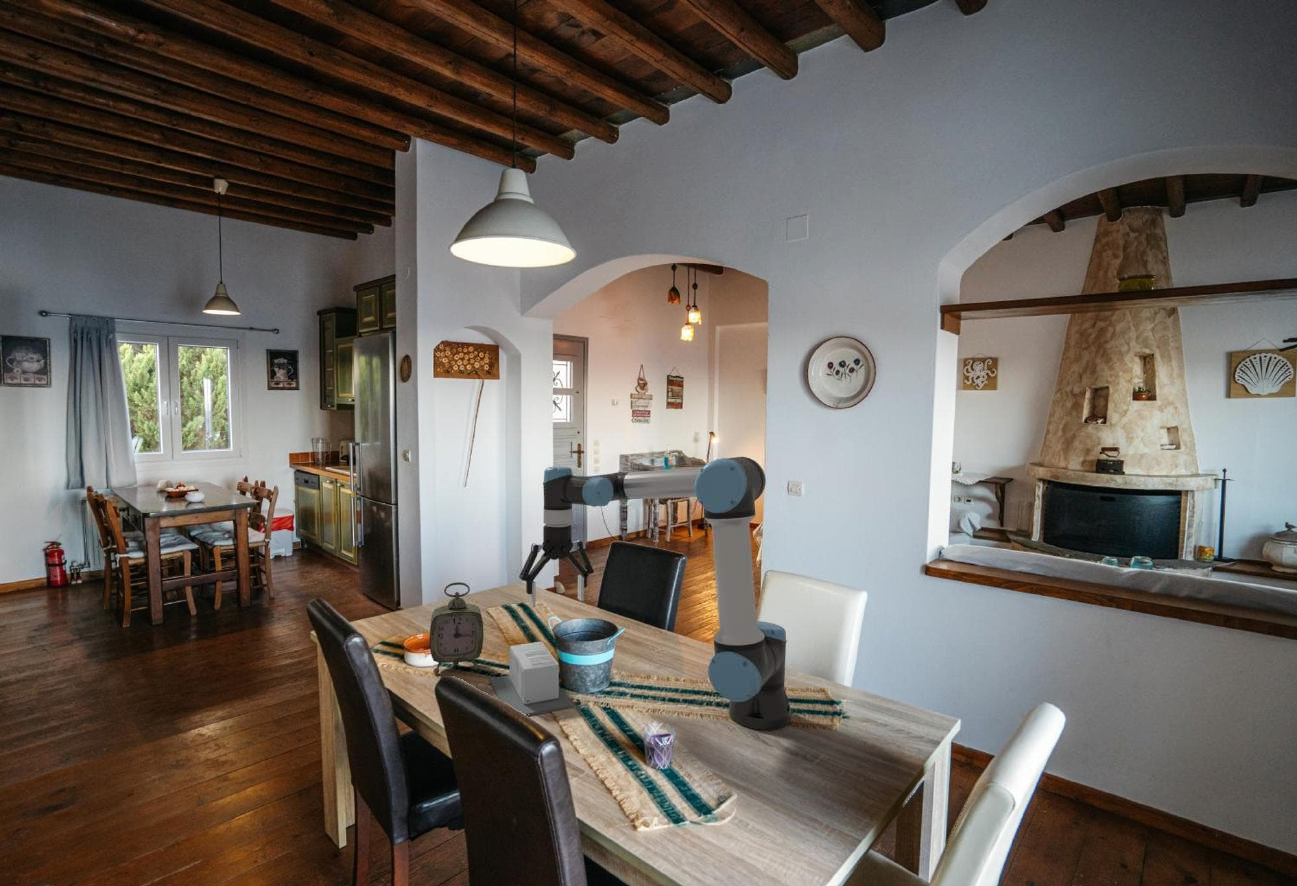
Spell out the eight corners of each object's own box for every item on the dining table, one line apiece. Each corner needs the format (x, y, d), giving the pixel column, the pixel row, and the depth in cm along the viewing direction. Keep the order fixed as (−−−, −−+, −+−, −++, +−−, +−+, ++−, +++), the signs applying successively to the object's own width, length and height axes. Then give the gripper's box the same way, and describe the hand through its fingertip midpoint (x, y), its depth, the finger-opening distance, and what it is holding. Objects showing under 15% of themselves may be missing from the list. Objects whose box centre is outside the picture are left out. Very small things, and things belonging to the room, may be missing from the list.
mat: (573, 707, 160) (573, 704, 160) (510, 718, 153) (510, 716, 153) (545, 671, 181) (545, 669, 181) (489, 680, 174) (489, 678, 174)
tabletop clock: (429, 677, 175) (430, 587, 174) (429, 664, 184) (430, 579, 183) (483, 671, 180) (484, 584, 179) (481, 659, 189) (482, 576, 187)
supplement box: (541, 673, 178) (559, 699, 163) (509, 679, 174) (523, 706, 159) (542, 640, 177) (559, 663, 162) (509, 645, 173) (524, 669, 158)
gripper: (595, 519, 179) (594, 593, 180) (507, 525, 168) (507, 604, 169) (605, 523, 173) (605, 600, 173) (515, 529, 161) (515, 612, 162)
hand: (557, 602), depth 171 cm, fingers open, 13 cm apart
